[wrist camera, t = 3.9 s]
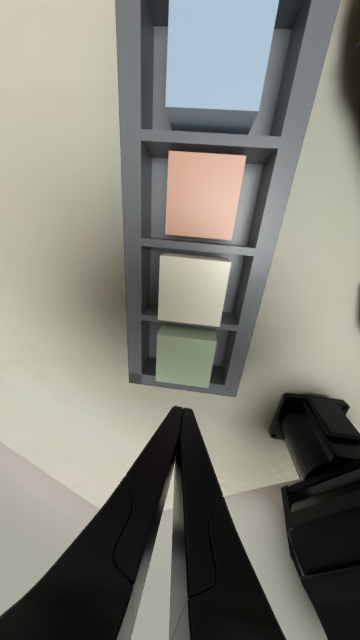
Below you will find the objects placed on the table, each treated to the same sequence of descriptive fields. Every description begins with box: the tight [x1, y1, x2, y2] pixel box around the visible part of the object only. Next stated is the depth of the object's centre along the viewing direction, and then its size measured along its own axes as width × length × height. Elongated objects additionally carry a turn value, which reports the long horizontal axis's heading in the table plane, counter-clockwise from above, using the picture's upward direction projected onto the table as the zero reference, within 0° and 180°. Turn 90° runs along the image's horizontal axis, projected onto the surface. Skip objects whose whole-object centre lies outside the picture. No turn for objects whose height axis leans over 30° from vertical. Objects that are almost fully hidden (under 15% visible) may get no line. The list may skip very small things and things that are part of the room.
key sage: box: [156, 323, 217, 388], centre depth 16 cm, size 4×4×2 cm
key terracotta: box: [165, 151, 246, 240], centre depth 13 cm, size 4×4×2 cm
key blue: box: [165, 0, 279, 135], centre depth 9 cm, size 4×4×2 cm
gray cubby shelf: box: [115, 0, 340, 397], centre depth 14 cm, size 25×10×3 cm, turn 175°
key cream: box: [158, 252, 231, 327], centre depth 14 cm, size 4×4×2 cm
